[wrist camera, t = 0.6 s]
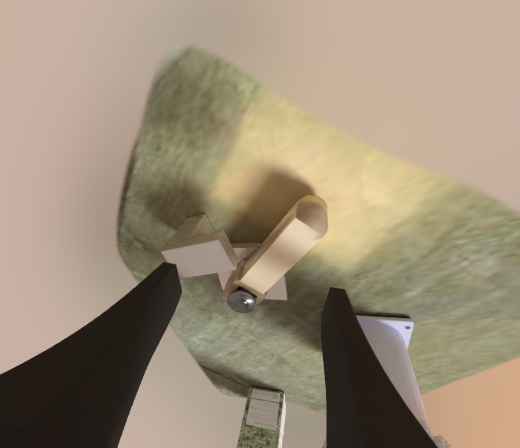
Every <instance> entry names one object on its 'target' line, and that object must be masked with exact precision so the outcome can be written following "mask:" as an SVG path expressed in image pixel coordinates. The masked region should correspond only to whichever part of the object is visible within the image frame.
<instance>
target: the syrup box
mask: <svg viewBox="0 0 520 448" xmlns="http://www.w3.org/2000/svg"><path fill="white" fill-rule="evenodd" d="M285 417H286V405H285V394H284V392H280V391H274V390H269V389H262V388H256V387H250V388H249V393H248V398H247V402H246V407H245V411H244V416H243V421H242V426H241V430H240V435H239V439H238V444H237V448H282V446H283V436H284V427H285Z"/></svg>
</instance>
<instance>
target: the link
mask: <svg viewBox="0 0 520 448" xmlns="http://www.w3.org/2000/svg"><path fill="white" fill-rule="evenodd" d="M327 230H328V218H327V205H326V203H325V201H324V200H323V199H322V198H320V197H318V196H315V195H307V196H304V197H302V198H300V199H299V200H298V201H297V202H296V204H295V205H294V206H293V207H292V208H291V210H290V211H289V212H288V213H287V214H286V215H285V217H284V218H283V219H282V220H281V221H280V223H279V224H278V225H277V226H276V227H275V229H274V230H273V231H272V232H271V233H270V235H269V236H268V237H267V238H266V239H265V240H264V242H263V243H262V244H261V245H260V246H259V248H258V249H257V250H256V251H255V252H254V254H253V255H252V256H251V257H250V258H249V259H248V261H247V262H245V261H244V260H243V261H242V262H241V264H240V265H239V266H238V267H237V268H236V270H235V271H234V272H233V273H232V275H231V276H230V277H229V278H228V281H227V283H226V286H225V288H224V291H223V293H222V296H221V297H222V298H224V299H226V300H227V299H228V296H229V294H230V293H231V292H232V291H235V290H238V287H239V286H240V287H242V288H244V289H246V290H247V291H249V292H251V293H252V295H253V296H254V298H255V300H256V305H255V307H256V306H257V305H258V304H259V303H260V302H261V301H262V300H263V299H264V298H265V297H266V296H267V292H268V290H269V289H270V288H271V287H272V286H273V285H274V284H275V283H276V282H277V281H278V280H279V279H280V278H281V277H282V276H283V275H284V274H285V273H286V272H287V271H288V270H289V269H290V268H291V267H292V266H293V265H294V264H295V263H296V262H297V261H298V260H300V259H301V258H302V257H303V256H304V255H305V254H306V253H307V252H308V251H309V250H310V249H311V248H312V247H313V246H314V245H315V244H316V243H317V242H318V241H319V240H320V239H321V238H322V237H323V236H324V235H325V234H326V232H327ZM249 313H250V312H249Z"/></svg>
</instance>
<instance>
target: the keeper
mask: <svg viewBox="0 0 520 448" xmlns="http://www.w3.org/2000/svg"><path fill="white" fill-rule="evenodd" d="M161 253H162V254H163V256H164V257H165V259H166V260H167V262H168V263H173V264H176V266H177V271H178V275H179V279H180V278H187V277H193V276H200V275H207V274H213V273H220V272H227V271H233V270H235V269H236V267H237V264H238V261H239V259H238V257H237V255H236V253H235V251H234V249H233V247H232V245H231V244H230V242H229V240H228V238H227V236H226V234H225V232H224V231H220V232H215V231H214V229H213V227H212V225H211V223H210V221H209V220H208V218H207V216H206V214H205V213H204V214H200V215H196V216H192V217H188V218H187V219H186V220H185V221H184V223H183V224H182V225H181V226H180V228H179V229H178V230H177V232H176V233H175V234H174V235H173V237H172V238H171V239H170V240H169V242H168V243H167V244H166V246H165V247H164V248H163V249H162V251H161Z"/></svg>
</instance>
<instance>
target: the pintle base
mask: <svg viewBox="0 0 520 448" xmlns="http://www.w3.org/2000/svg"><path fill="white" fill-rule="evenodd" d="M230 244H231V245H232V247H233V249H234V251H235V253H236V255H237V257H238V259H239V261H238V264H237V267H238V266H239V265H240V264H241V262H242V261H243V260H244V261H245V262H247V261H248V259H249V258H250V257H251V256H252V255H253V254H254V252H255V251H256V250H257V249H258V248H259V246H260V245H261V244H262V243H230ZM237 267H236V268H237ZM235 270H236V269H235ZM235 270H233V271H227V272H220V273H218V276H219V280H220V283H221V286H222V289H223V291H224V288H225V286H226V283H227V281H228V278H229V277H230V276H231V275H232V273H233V272H234V271H235ZM264 299H272V300H288V289H287V282H286V274H284V275H283V276H282V277H281V278H280V279H279V280H278V281H277V282H276V283H275V284H274V285H273V286H272V287H271V288H270V289H269V290H268V292H267V296H266V297H265V298H264ZM227 303H228V305H229V306H230V307H231V308H232V309H233V310H235V311H237V312H241V313H249V312H252V311H253V310H254V309H255V305H256V300H255V298H254V296H253V295H252V293H251V292H249V291H247V290H246V289H244V288H242V287H240V286H239V287H238V290H235V291H232V292H231V293H230V294H229V296H228V299H227Z"/></svg>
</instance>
